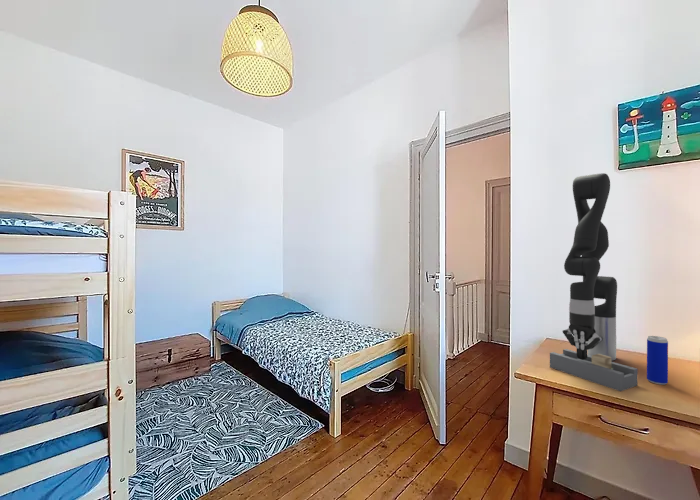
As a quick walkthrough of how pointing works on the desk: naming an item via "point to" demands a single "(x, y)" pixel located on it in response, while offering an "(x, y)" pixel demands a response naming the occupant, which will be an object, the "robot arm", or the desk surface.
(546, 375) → the desk surface
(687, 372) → the desk surface
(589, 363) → the box
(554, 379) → the desk surface
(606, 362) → the birch block
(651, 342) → the blue cylinder
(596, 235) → the robot arm
